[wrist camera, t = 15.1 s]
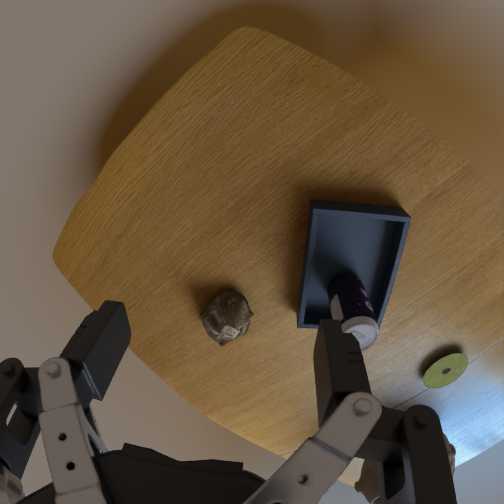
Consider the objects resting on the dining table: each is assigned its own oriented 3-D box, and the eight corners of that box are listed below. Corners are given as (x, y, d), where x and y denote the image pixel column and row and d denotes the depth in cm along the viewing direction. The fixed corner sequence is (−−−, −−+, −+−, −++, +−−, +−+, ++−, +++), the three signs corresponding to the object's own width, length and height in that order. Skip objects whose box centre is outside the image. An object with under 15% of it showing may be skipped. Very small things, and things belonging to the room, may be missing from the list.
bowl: (375, 463, 81) (381, 515, 63) (337, 436, 71) (342, 503, 54) (452, 429, 72) (467, 482, 54) (434, 393, 62) (456, 462, 44)
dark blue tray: (310, 199, 43) (313, 208, 40) (402, 207, 42) (411, 217, 39) (296, 313, 52) (297, 327, 49) (374, 315, 52) (379, 329, 48)
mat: (419, 387, 61) (421, 394, 59) (421, 357, 56) (424, 363, 54) (461, 372, 58) (464, 378, 57) (468, 340, 54) (471, 346, 52)
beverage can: (345, 305, 50) (359, 359, 40) (319, 289, 49) (328, 344, 38) (368, 281, 48) (389, 332, 37) (342, 263, 46) (358, 314, 36)
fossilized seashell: (222, 349, 54) (268, 318, 52) (207, 359, 48) (258, 325, 46) (198, 313, 55) (242, 281, 54) (180, 319, 49) (229, 283, 47)
